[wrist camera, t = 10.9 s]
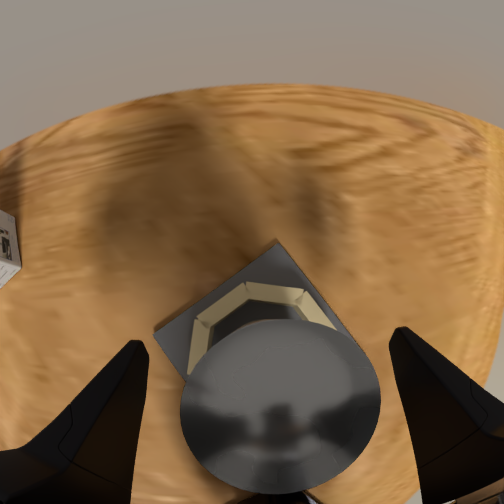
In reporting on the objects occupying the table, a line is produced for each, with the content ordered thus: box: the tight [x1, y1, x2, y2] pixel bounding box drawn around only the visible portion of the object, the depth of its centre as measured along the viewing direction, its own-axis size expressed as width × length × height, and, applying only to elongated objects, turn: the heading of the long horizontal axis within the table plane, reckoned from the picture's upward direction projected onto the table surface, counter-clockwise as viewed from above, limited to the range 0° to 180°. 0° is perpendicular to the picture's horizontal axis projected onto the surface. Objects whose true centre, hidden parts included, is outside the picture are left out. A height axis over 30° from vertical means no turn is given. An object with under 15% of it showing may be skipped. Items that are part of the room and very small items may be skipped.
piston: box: [180, 319, 381, 494], centre depth 11 cm, size 5×5×12 cm
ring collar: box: [153, 243, 357, 382], centre depth 16 cm, size 11×11×2 cm
